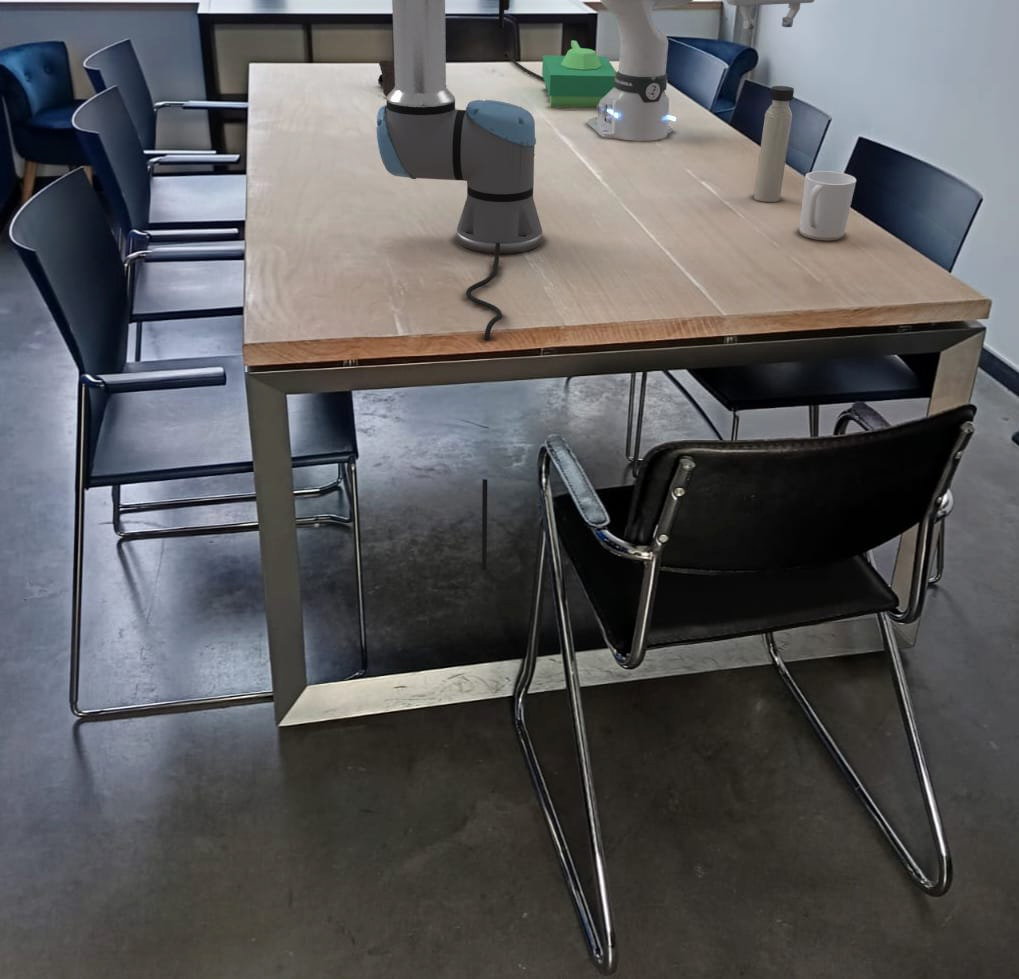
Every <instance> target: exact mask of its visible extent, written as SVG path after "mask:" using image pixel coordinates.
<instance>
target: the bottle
mask: <svg viewBox="0 0 1019 979" xmlns="http://www.w3.org/2000/svg"><path fill="white" fill-rule="evenodd" d="M771 101H772V102H771V104H770V106H769V107H768V108H767V110H765V113H764V120H763V127H762V135H761V141H760V149H759V155H758V162H757V163H758V164H757V170H756V178H755V184H754V185H755V186H754V192H753V199H755V200H756V201H759V202H763V203H775V202H778V201H780V200H781V195H782V194H781V193H782V187H783V180H784V173H785V168H786V160H787V155H788V147H789V141H790V135H791V127H792V120H793V112H792V110H791V107H790V104H789V102H790V101H776V100H771Z"/></svg>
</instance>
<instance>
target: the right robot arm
mask: <svg viewBox="0 0 1019 979" xmlns="http://www.w3.org/2000/svg"><path fill="white" fill-rule="evenodd" d="M599 1H600V2H601V4H602V5H603V7H605V8H606V9H607V10H608V11H609V12H610V13H611V14H610V15H611V16H612V17H613V19H614V21H615V23H616V27H617V30H618V35H619V56H618V57H619V58H618V59H619V60H618V70H617V71H616V72H614V73H616V76H614V77H615V81H614V85H613V86H614V88H613V89H612V90H611V91H610V92H608V93H607V94H606V95H605V96H604V97H603V98H602V99H601V100H600V102H599V105H597V107H596V113H597V117H592V118H588V119H587V125H588V126H590V127H591V129H593V130H594V131H595V132H596V133H597V134H598V135H599V136H600V137H601V138H607V139H619V140H625V141H636V142H637V141H638V142H643V141H644V142H645V141H647V142H649V141H658V140H661V139H664V138H667V136H668V134H671V133H672V132H673V127H672V126H669V123H670V121H673V122H676V121H677V117H675V116H673V115H670V98H669V95H667V94H666V91H667V85H668V73H667V62H668V51H669V39H668V37H667V35H666V34H665V32H664V31H663V30H662V29H660V28H659V27H657V26H655V24H654V22H653V17H652V10H656V9H657V10H658V9H673V8H674V9H675V8H677V7H680V6H683V5H687V4H690V3H692V2H693V1H694V0H599ZM725 1H726V2H727V4H728V5H730V6H733V7H734V6H735V7H740V8H739V11H740V14H741V16H742V19H743V28H742V29H744V30H753V29H754V28H755V23H756V22H755V21H756V20H755V19H752V17H751V13H750V12H752V11H753V6H767V5H769V6H770V5H788V9H789V10H788V12H787V14H786V16H782V20H781V21H782V22H781V26H782V27H783V28H792V27H793V24H794V19H795V17H796V16H797V14H798V13H799V11H800V10H801V9H800V8H801V4H813V3H814V2H815V0H725ZM504 57H507V58H508V60H509V61H511V62H512V63H513V64H514V65H515V66H516V67H518V69H521V70H522V71H523V72H524V73H527V74H529V75H531V76H532V77H534V78H536V79H538V80H541V81H542V82H545V81H544V79H543V76H542V75H539V74H537V73H535V72H534V71H532V70H530V69H527V68H526V67H524V66H523V65H521V64H520V63H519V62H518V61H516V60H515V58H513V57H512V56H511V54H510V52H509V51H506V52H504ZM669 120H670V121H669Z"/></svg>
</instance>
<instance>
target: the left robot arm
mask: <svg viewBox="0 0 1019 979" xmlns="http://www.w3.org/2000/svg"><path fill="white" fill-rule="evenodd" d="M391 4H392V5H391V6H392V7H391V8H392V9H391V10H392V34H393V36H392V37H393V39H392V40H393V61H394V68H395V87H394V89H393V90H392V91H391V92H390V93H389V94H388V96H386V104H384V105H383V106H381V107H379V109H378V111H377V115H376V138H377V147H378V151H379V156H380V159H381V162H382V164H383V166H384V168H385V170H386V171H387V172H388V173H389V174H390V175H391V176H393V177H400V178H407V179H408V178H409V179H411V180H417V179H422V180H423V179H426V180H442V181H443V180H445V181H461V182H464V181H465V182H466V192H467V193H466V198H465V202H464V205H463V209H462V211H461V214H460V218H459V220H458V224H457V227H456V241H457V243H458V244H459V245H461V246H462V247H464V248H466V249H468V250H470V251H475V252H479V253H486V254H494V260H493V267H492V270H491V272H490V274H489V275H488V276H487V277H486V278H484V279H482V280H480V281H478V282H475V283H474V284H472V285H470V286H469V287H468V288H466V291H465V295H466V298H467V299H468V300H469V301H470V302H472V303H474V304H476V305H479V306H481V307H484V308H487V309H489V310H491V311H493V312H494V313H495V316H494V317H493V318H491V319H490V320H489V321H488V322H487V324H486V327H485V330H484V335H483V341H485V342H488V341H490V336H491V332H492V328H493V327H494V325H495V324H496V323H497V322H499V321H500V320H502V317H503V314H502V311H501V309H500V308H499V307H497V306H496V305H494V304H492V303H490V302H488V301H484V300H482V299H479V298H477V297H475V296H474V295H473V294H472V292H474V291H475V290H476V289H478V288H480V287H483V286H484V285H487V284H489V283H491V281H492V280H494V278H495V277H496V275H497V273H498V269H499V263H500V255H506V254H507V255H508V254H517V253H524V252H527V251H530V250H533V249H536V248H538V247H539V246H540V245H541V244H542V243H543V229H542V224H541V221H540V220H541V219H540V218H539V214H538V213H539V212H538V210H537V206H536V204H535V199H534V183H535V181H534V180H535V148H536V147H535V146H536V144H537V139H536V128H535V127H536V123H535V118H534V116H533V114H532V113H530V112H529V111H528V110H527V109H525V108H524V107H522V106H519V105H517V104H514V103H510V102H505V101H499V100H492V99H485V100H483V99H476V100H471V101H469V102H468V104H467V106H466V107H465V109H457V108H456V97H455V95H454V94H453V93H452V92H451V91H450V90H449V89H448V87H447V64H446V63H447V61H446V60H447V57H446V56H447V54H446V53H447V49H446V44H447V43H446V42H447V41H446V0H391ZM510 7H511V0H498V29H502V30H503V28H505V11H509V10H510ZM481 485H482V490H481V491H482V494H481V495H482V497H481V498H482V499H481V500H482V501H481V502H482V503H481V510H482V512H481V570H482V571H487V568H488V567H487V563H488V562H487V561H488V557H487V556H488V478H487V479H485V478H482V484H481Z"/></svg>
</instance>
